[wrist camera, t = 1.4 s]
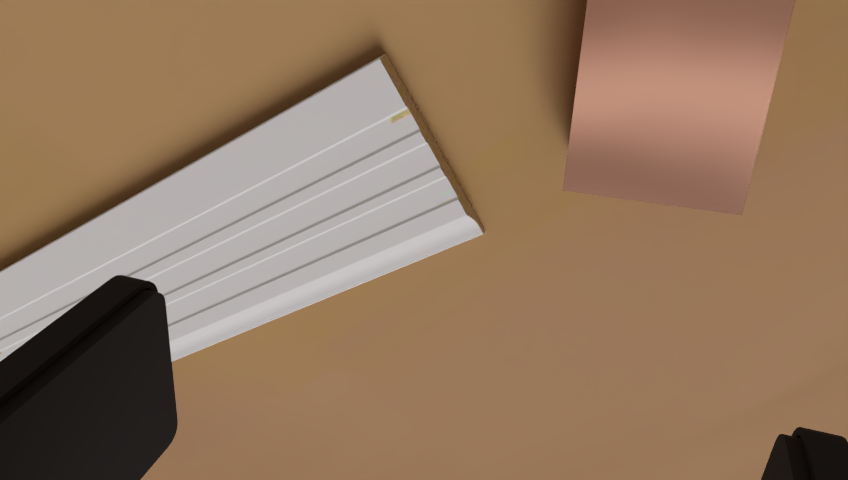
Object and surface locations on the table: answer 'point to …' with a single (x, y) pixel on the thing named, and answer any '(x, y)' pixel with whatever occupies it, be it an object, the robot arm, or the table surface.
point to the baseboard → (262, 220)
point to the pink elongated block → (674, 99)
